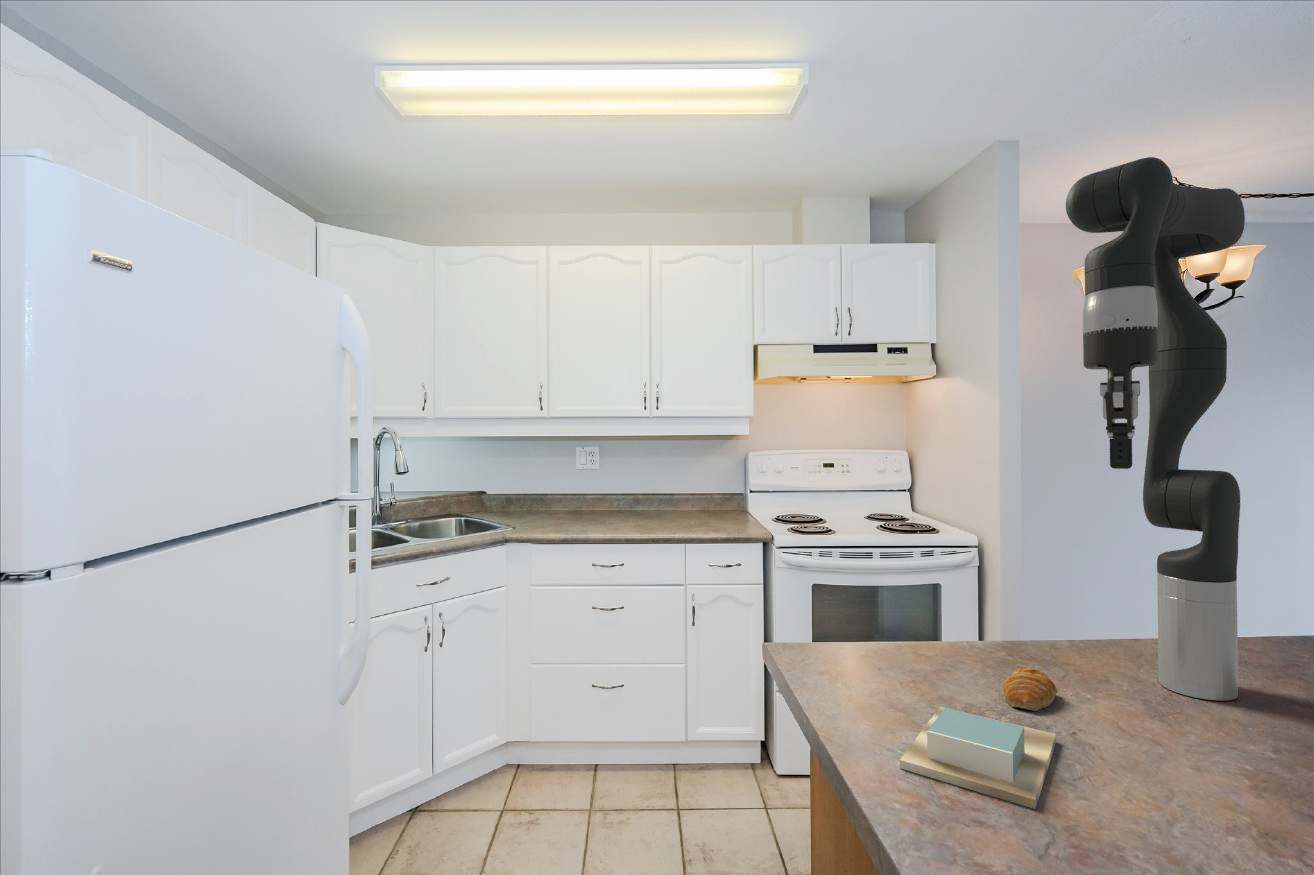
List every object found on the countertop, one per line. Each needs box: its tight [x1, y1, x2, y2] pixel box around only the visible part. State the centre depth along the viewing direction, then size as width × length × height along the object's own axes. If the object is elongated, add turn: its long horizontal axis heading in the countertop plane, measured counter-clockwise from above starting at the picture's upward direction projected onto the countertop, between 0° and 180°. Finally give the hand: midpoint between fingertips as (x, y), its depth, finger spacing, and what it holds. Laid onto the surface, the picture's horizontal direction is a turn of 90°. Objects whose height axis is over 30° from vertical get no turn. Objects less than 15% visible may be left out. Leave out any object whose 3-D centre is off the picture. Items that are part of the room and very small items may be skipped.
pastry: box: [1002, 667, 1059, 712], centre depth 94 cm, size 9×7×4 cm
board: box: [899, 706, 1057, 810], centre depth 79 cm, size 18×14×1 cm
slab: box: [927, 707, 1025, 782], centre depth 76 cm, size 3×9×8 cm
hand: (1121, 468), depth 79 cm, fingers closed
